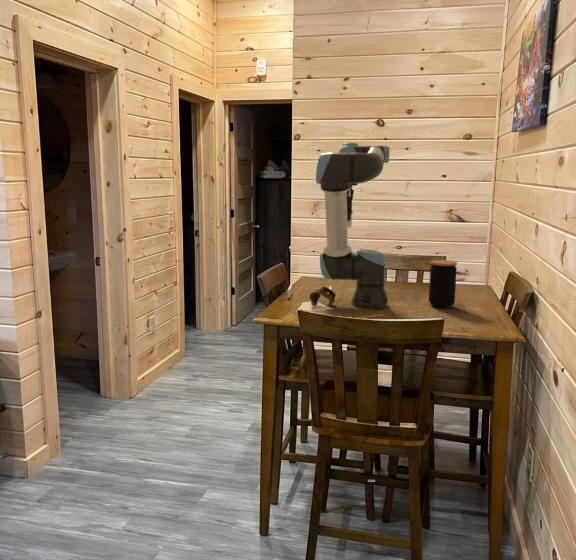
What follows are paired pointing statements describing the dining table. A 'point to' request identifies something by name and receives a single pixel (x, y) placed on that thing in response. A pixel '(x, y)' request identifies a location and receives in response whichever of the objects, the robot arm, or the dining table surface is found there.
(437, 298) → the coffee jar
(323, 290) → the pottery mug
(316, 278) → the dining table surface
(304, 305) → the mat
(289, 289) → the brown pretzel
